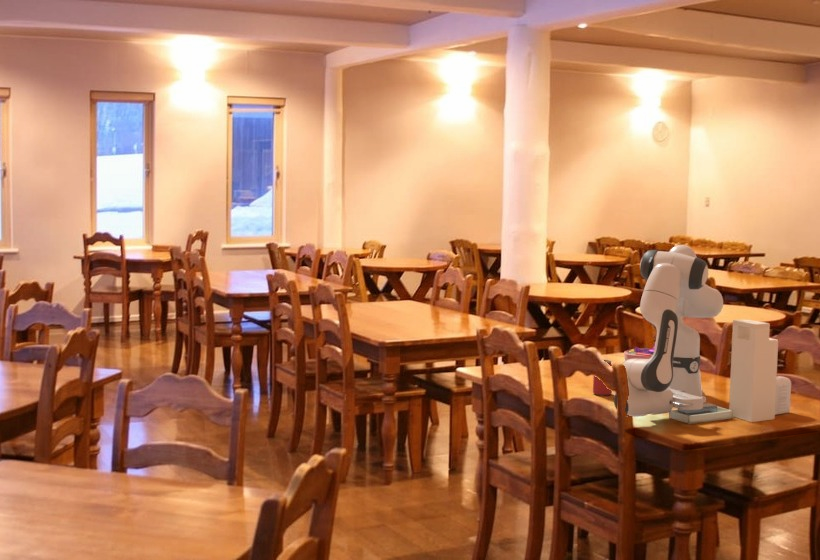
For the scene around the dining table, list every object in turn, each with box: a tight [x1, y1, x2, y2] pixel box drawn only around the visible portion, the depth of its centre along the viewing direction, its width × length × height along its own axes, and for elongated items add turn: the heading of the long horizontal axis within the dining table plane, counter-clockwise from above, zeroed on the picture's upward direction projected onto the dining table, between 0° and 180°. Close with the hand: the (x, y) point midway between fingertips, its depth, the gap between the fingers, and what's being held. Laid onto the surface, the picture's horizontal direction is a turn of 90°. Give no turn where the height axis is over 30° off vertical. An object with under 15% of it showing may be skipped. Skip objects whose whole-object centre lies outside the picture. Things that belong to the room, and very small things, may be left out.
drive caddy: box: [677, 402, 718, 415], centre depth 339 cm, size 4×13×4 cm, turn 117°
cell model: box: [623, 344, 655, 362], centre depth 416 cm, size 17×20×11 cm
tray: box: [668, 405, 734, 425], centre depth 339 cm, size 9×18×2 cm, turn 117°
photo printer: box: [775, 375, 792, 416], centre depth 347 cm, size 10×4×12 cm, turn 123°
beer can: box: [592, 359, 613, 397], centre depth 374 cm, size 7×7×12 cm
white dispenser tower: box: [728, 318, 779, 423], centre depth 340 cm, size 10×10×32 cm
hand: (694, 396), depth 337 cm, fingers open, 8 cm apart
